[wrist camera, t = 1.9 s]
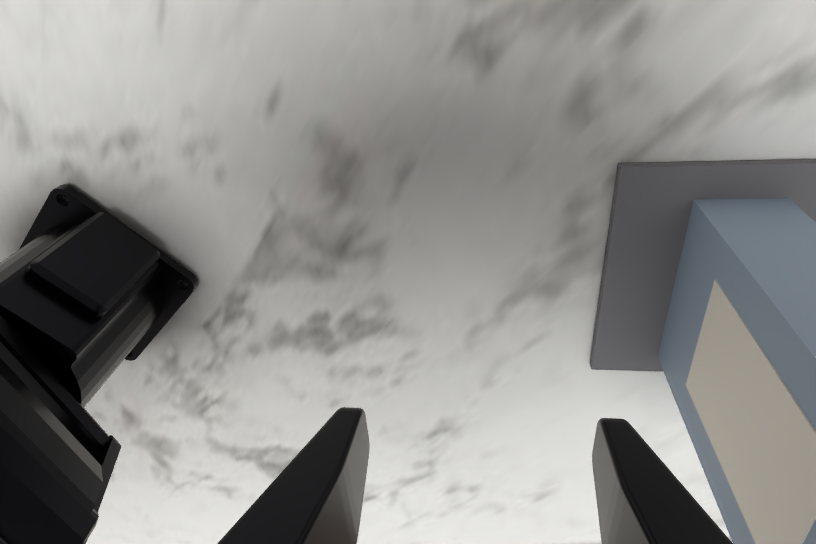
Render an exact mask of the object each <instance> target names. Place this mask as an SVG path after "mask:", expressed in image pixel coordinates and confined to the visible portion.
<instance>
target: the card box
mask: <svg viewBox="0 0 816 544" xmlns="http://www.w3.org/2000/svg"><path fill="white" fill-rule="evenodd" d="M658 359H659V361H660V363H661V366H662V368H663V371H664V373H665V376H666V378H667V381H668V383H669V386H670V388H671V391H672V393H673V396H674V398H675V401H676V403H677V406H678V408H679V411H680V413H681V415H682V418H683V420H684V423H685V425H686V428H687V430H688V433H689V435H690V438H691V440H692V443H693V445H694V448H695V450H696V453H697V455H698V458H699V460H700V463H701V465H702V468H703V470H704V472H705V475H706V477H707V480H708V482H709V485H710V487H711V490H712V492H713V495H714V497H715V500H716V502H717V505H718V507H719V510H720V512H721V515H722V517H723V520H724V522H725V524H726V527H727V529H728V532H729V534H730V537H731V539H732V542H733V544H816V222H815V221H814V220H813V219H812V218H811V217H809V216H808V215H807V214H806V213H805V212H804V211H803V210H802V209H800V208H799V207H798V206H797V205H796V204H795V203H794V202H793V201H791V200H790V199H713V200H693V205H692V209H691V213H690V218H689V222H688V226H687V231H686V235H685V240H684V244H683V248H682V253H681V257H680V262H679V266H678V270H677V275H676V279H675V283H674V288H673V292H672V297H671V301H670V305H669V310H668V314H667V318H666V323H665V327H664V332H663V336H662V340H661V345H660V349H659V353H658Z"/></svg>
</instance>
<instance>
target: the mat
mask: <svg viewBox="0 0 816 544" xmlns="http://www.w3.org/2000/svg"><path fill="white" fill-rule="evenodd" d="M713 199H790V200H791V201H793V202H794V203H795V204H796V205H797V206H798V207H799V208H800V209H802V210H803V211H804V212H805V213H806V214H807V215H808V216H809V217H811V218H812V219H813V220H814V221H815V222H816V159H792V160H745V161H698V162H651V163H618V169H617V176H616V183H615V190H614V197H613V204H612V211H611V218H610V225H609V232H608V239H607V246H606V253H605V260H604V267H603V274H602V281H601V288H600V295H599V302H598V309H597V316H596V323H595V330H594V337H593V344H592V351H591V358H590V366H591V369H597V370H632V371H663V368H662V366H661V363H660V361H659V359H658V353H659V349H660V345H661V340H662V336H663V332H664V327H665V323H666V318H667V314H668V310H669V305H670V301H671V297H672V292H673V288H674V283H675V279H676V275H677V270H678V266H679V262H680V257H681V253H682V248H683V244H684V240H685V235H686V231H687V226H688V222H689V218H690V213H691V209H692V205H693V200H713Z"/></svg>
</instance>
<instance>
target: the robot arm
mask: <svg viewBox="0 0 816 544" xmlns="http://www.w3.org/2000/svg"><path fill="white" fill-rule="evenodd" d="M63 195H64V196H65V197H66V198H67V199H68V201H67V200H66V199H65V198H64V197H63ZM181 280H183V281H185V282H186V283H187V284H188V285H186V284H184V283H183V282H182V281H181ZM197 285H198V280H197V278H196V276H195V275H194V274H193V273H191V272H190V271H189V270H187V269H186V268H184V267H183V266H182V265H180V264H179V263H177V262H176V261H175V260H173V259H172V258H171V257H169V256H168V255H166V254H165V253H164V252H162V251H161V250H159V249H158V248H157V247H155V246H154V245H152V244H151V243H150V242H148V241H147V240H146V239H144V238H143V237H141V236H140V235H139V234H137V233H136V232H134V231H133V230H132V229H130V228H129V227H127V226H126V225H125V224H123V223H122V222H120V221H119V220H118V219H116V218H115V217H114V216H112V215H111V214H109V213H108V212H107V211H105V210H104V209H102V208H101V207H100V206H98V205H97V204H95V203H94V202H93V201H91V200H90V199H89V198H87V197H86V196H84V195H83V194H82V193H80V192H79V191H77V190H76V189H75V188H73V187H71V186H69V185H60V186H58V187H57V188H55V189H53V190H52V191H51V192H50V194H49V196H48V198H47V200H46V202H45V203H44V205H43V207H42V209H41V211H40V212H39V214H38V216H37V218H36V220H35V221H34V223H33V225H32V227H31V229H30V231H29V232H28V234H27V236H26V238H25V240H24V241H23V243H22V245H21V247H20V249H19V250H18V251H16V252H15V253H14V254H12V255H11V256H9V257H8V258H6V259H5V260H3V261H2V262H1V263H0V544H86V542H87V539H88V537H89V536H90V534H91V532H92V531H93V529H94V528H95V526H96V523H97V520H98V517H99V516H98V510H99V507H100V504H101V502H102V499H103V496H104V493H105V490H106V488H107V485H108V482H109V479H110V477H111V474H112V471H113V468H114V465H115V463H116V460H117V457H118V454H119V451H120V449H121V445H120V444H119V443H118V442H117V440H116V439H115V438H114V437H113V436H112V435H110V436H108V434H107V433H106V432H105V431H104V430H103V429H102V428H101V426H100V425H99V424H98V423H97V422H96V421H95V420H94V419H93V417H92V416H91V415H90V414H89V413H88V412H87V411H86V410H85V408H84V407H85V405H86V404H87V403H88V402H89V401H90V399H91V398H92V397H93V396H94V395H95V393H96V392H97V391H98V390H99V389H100V387H101V386H102V385H103V384H104V383H105V381H106V380H107V379H108V378H109V377H110V375H111V374H112V373H113V372H114V371H115V369H116V368H117V367H118V366H119V365H120V363H121V362H122V361H123V360H124V359H126V360H130V361H131V360H135V359H136V358H137V357H138V356H139V355H140V354H141V352H142V351H143V350H144V349H145V348H146V347H147V345H148V344H149V343H150V342H151V341H152V339H153V338H154V337H155V336H156V335H157V334H158V332H159V331H160V330H161V329H162V328H163V326H164V325H165V324H166V323H167V322H168V321H169V319H170V318H171V317H172V316H173V315H174V313H175V312H176V311H177V310H178V309H179V308H180V306H181V305H182V304H183V303H184V302H185V301H186V299H187V298H188V297H189V296H190V295H191V293H192V292H193V291H194V290H195V289H196V287H197ZM368 458H369V436H368V430H367V423H366V417H365V412H364V410H363V409H361V408H346V407H343V408H340V409H338V410H337V411H336V412H335V413H334V415H333V416H332V417H331V418H330V419H329V420H328V421H327V422H326V424H325V425H324V426H323V427H322V428H321V429H320V430H319V431H318V432H317V434H316V435H315V436H314V437H313V438H312V439H311V440H310V441H309V442H308V444H307V445H306V446H305V447H304V448H303V449H302V450H301V451H300V452H299V454H298V455H297V456H296V457H295V458H294V459H293V460H292V461H291V462H290V464H289V465H288V466H287V467H286V468H285V469H284V470H283V471H282V472H281V474H280V475H279V476H278V477H277V478H276V479H275V480H274V481H273V482H272V484H271V485H270V486H269V487H268V488H267V489H266V490H265V491H264V492H263V494H262V495H261V496H260V497H259V498H258V499H257V500H256V501H255V502H254V504H253V505H252V506H251V507H250V508H249V509H248V510H247V511H246V513H245V514H244V515H243V516H242V517H241V518H240V519H239V520H238V521H237V523H236V524H235V525H234V526H233V527H232V528H231V529H230V530H229V531H228V533H227V534H226V535H225V536H224V537H223V538H222V539H221V540H220V541H219V543H218V544H356V543H357V537H358V531H359V525H360V517H361V510H362V502H363V495H364V488H365V480H366V473H367V465H368ZM592 463H593V473H594V481H595V490H596V498H597V507H598V515H599V524H600V532H601V541H602V544H733V543H732V542H731V541H730V540H729V539H728V537H727V536H726V535H725V534H724V533H723V532H722V530H721V529H720V528H719V527H718V526H717V525H716V523H715V522H714V521H713V520H712V519H711V518H710V516H709V515H708V514H707V513H706V512H705V511H704V509H703V508H702V507H701V506H700V505H699V504H698V503H697V501H696V500H695V499H694V498H693V497H692V496H691V494H690V493H689V492H688V491H687V490H686V489H685V487H684V486H683V485H682V484H681V483H680V482H679V480H678V479H677V478H676V477H675V476H674V475H673V474H672V472H671V471H670V470H669V469H668V468H667V467H666V465H665V464H664V463H663V462H662V461H661V460H660V458H659V457H658V456H657V455H656V454H655V453H654V451H653V450H652V449H651V448H650V447H649V446H648V444H647V443H646V442H645V441H644V440H643V439H642V438H641V436H640V435H639V434H638V433H637V432H636V431H635V429H634V428H633V427H632V426H631V425H630V424H629V423H628V422H627V421H626V420H624V419H613V418H602V419H600V420H599V421H598V423H597V428H596V434H595V440H594V446H593V454H592Z"/></svg>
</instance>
